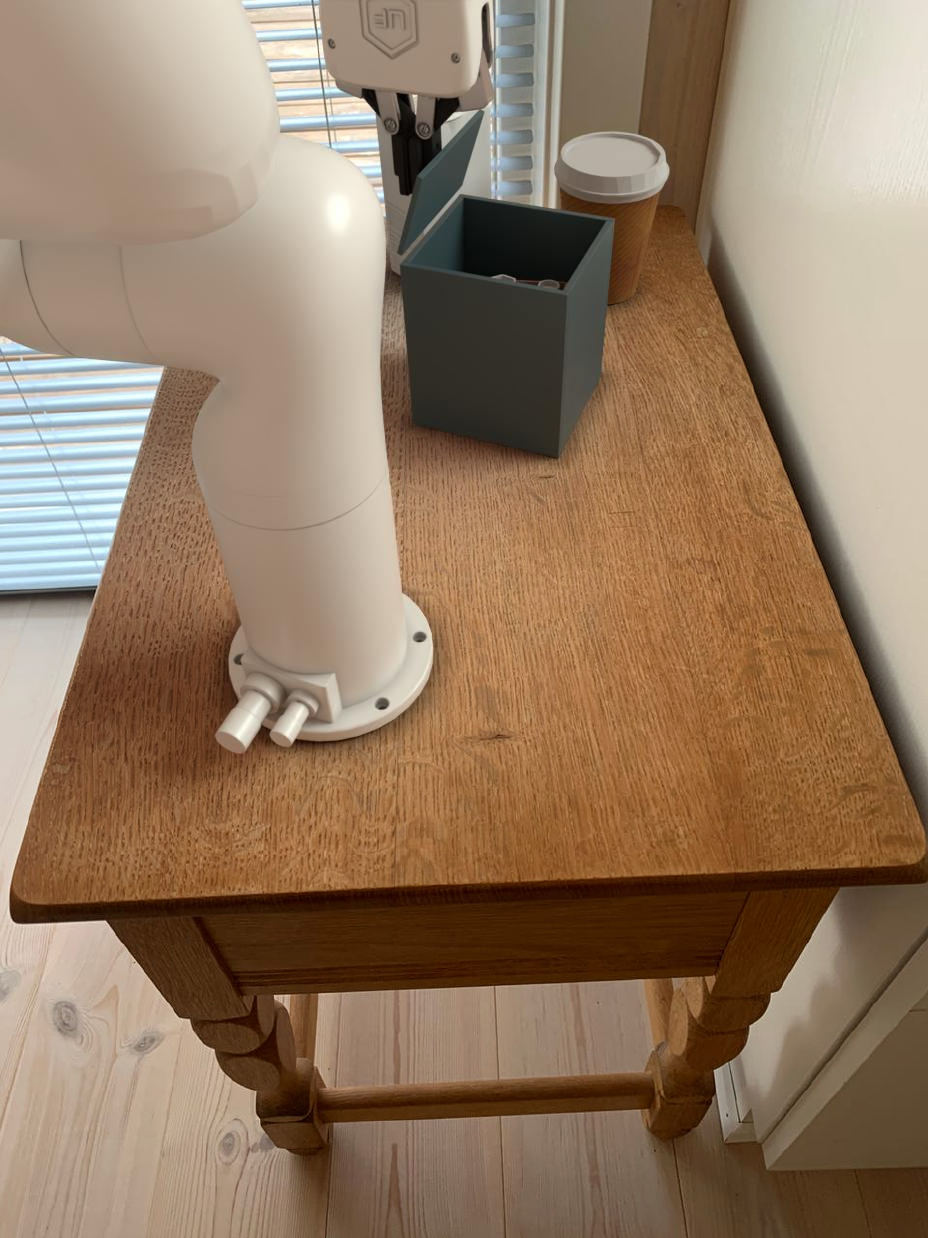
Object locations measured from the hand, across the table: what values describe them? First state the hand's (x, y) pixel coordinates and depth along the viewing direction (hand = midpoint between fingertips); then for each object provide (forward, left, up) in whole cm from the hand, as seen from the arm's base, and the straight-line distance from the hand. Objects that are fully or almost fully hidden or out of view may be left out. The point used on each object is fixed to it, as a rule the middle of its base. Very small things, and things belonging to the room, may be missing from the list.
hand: (419, 187), depth 68 cm
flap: (0, -2, +1) cm, 2 cm away
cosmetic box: (+17, +6, -16) cm, 24 cm away
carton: (0, -7, -16) cm, 18 cm away
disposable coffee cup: (+19, -9, -16) cm, 27 cm away
